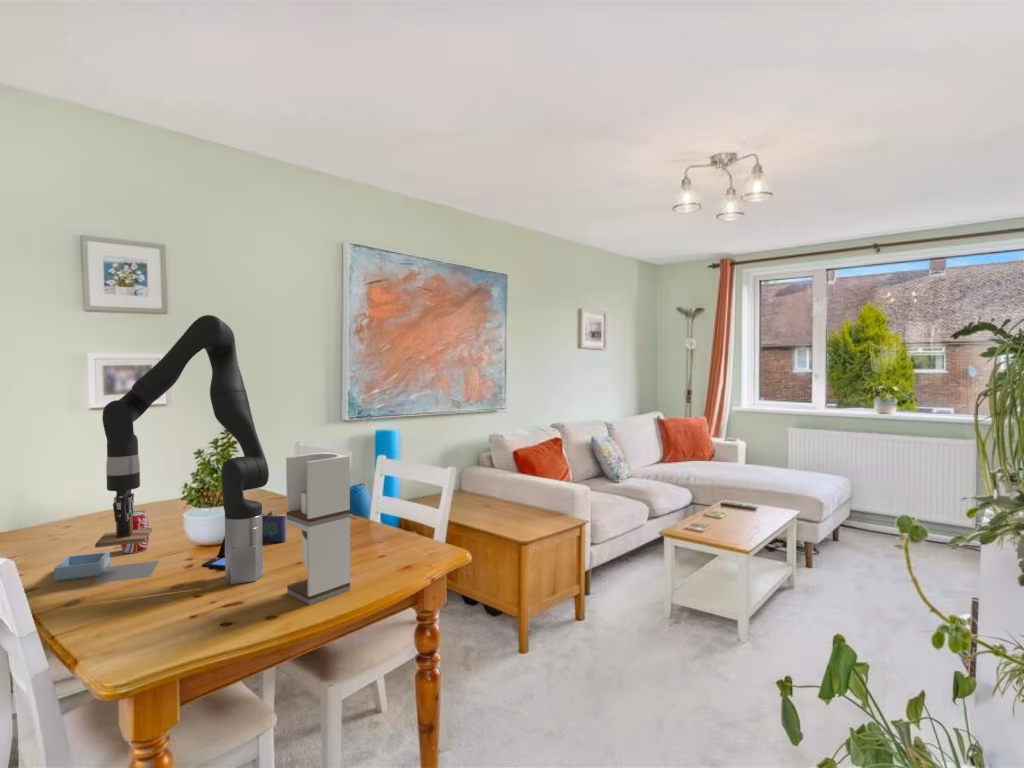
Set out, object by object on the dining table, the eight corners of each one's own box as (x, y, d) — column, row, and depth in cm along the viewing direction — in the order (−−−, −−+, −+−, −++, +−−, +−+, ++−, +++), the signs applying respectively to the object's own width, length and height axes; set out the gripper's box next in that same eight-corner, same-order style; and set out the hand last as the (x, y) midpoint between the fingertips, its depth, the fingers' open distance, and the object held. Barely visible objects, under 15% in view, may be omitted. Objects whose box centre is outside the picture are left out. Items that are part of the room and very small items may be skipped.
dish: (100, 577, 149) (100, 563, 149) (54, 583, 145) (54, 568, 145) (110, 565, 158) (109, 551, 158) (67, 570, 154) (67, 556, 154)
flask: (287, 540, 181) (287, 508, 181) (283, 543, 178) (283, 510, 178) (260, 540, 182) (260, 508, 181) (256, 542, 179) (255, 510, 178)
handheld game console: (200, 568, 157) (199, 543, 156) (226, 555, 167) (226, 531, 167) (238, 572, 154) (238, 546, 154) (263, 559, 165) (262, 534, 164)
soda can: (134, 556, 166) (134, 517, 165) (115, 554, 167) (114, 515, 167) (154, 548, 173) (153, 511, 172) (135, 546, 174) (135, 509, 174)
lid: (144, 541, 148) (144, 520, 148) (95, 547, 144) (94, 525, 143) (151, 531, 158) (151, 510, 158) (105, 536, 154) (104, 515, 153)
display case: (327, 579, 148) (326, 451, 147) (350, 590, 142) (349, 456, 140) (287, 593, 140) (286, 457, 138) (309, 604, 133) (308, 462, 132)
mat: (150, 577, 149) (150, 576, 149) (92, 585, 144) (92, 583, 144) (159, 561, 161) (159, 560, 161) (105, 568, 156) (105, 566, 156)
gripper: (134, 474, 146) (136, 538, 146) (144, 466, 159) (145, 525, 159) (100, 477, 143) (101, 542, 143) (112, 468, 155) (114, 529, 156)
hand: (124, 533), depth 151 cm, fingers closed on lid, 3 cm apart
